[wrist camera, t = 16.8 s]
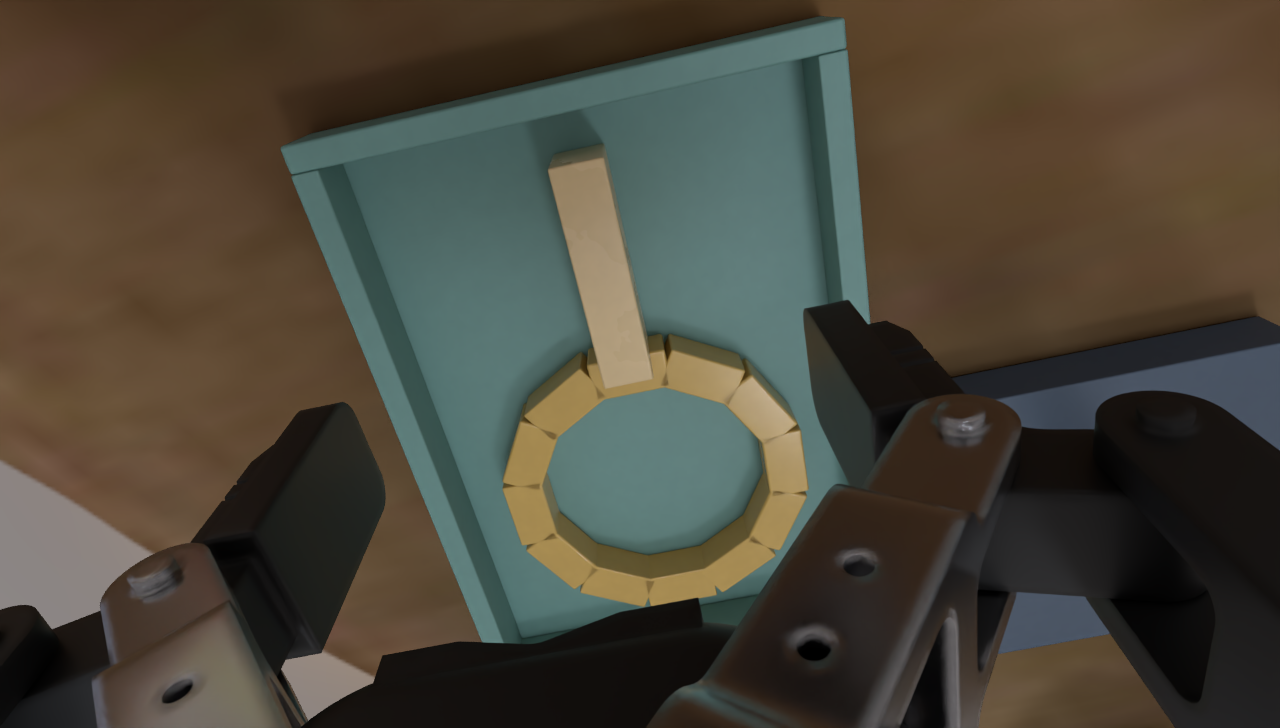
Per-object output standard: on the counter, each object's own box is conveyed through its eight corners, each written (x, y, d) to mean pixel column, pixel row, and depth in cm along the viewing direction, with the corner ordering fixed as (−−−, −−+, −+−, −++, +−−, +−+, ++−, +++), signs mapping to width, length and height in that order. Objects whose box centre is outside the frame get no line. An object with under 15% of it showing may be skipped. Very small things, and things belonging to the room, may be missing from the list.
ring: (410, 185, 23) (389, 203, 21) (750, 109, 22) (765, 120, 20) (552, 601, 30) (547, 646, 28) (811, 552, 30) (827, 594, 28)
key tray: (309, 133, 23) (277, 147, 20) (821, 15, 22) (845, 16, 20) (510, 648, 32) (503, 694, 30) (875, 579, 31) (896, 622, 29)
